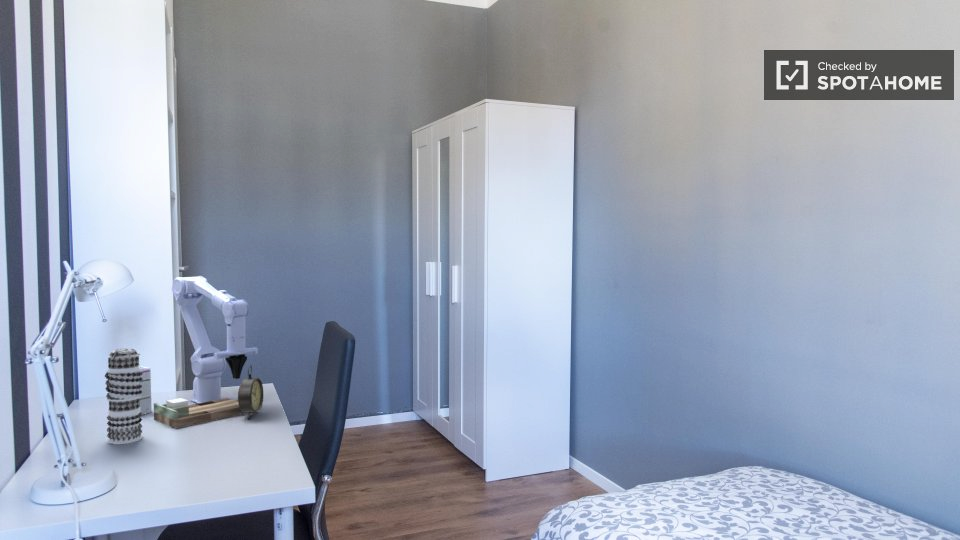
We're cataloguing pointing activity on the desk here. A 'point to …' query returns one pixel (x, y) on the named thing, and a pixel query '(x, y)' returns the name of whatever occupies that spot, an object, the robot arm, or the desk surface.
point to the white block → (177, 403)
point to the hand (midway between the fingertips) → (236, 378)
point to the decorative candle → (123, 396)
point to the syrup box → (145, 390)
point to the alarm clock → (250, 395)
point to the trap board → (196, 412)
